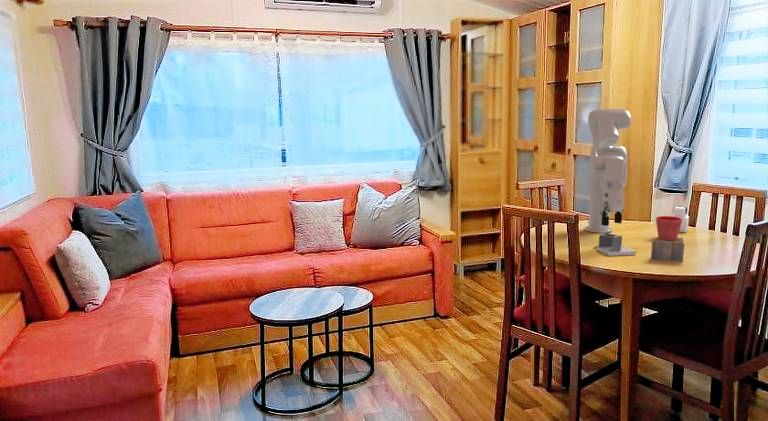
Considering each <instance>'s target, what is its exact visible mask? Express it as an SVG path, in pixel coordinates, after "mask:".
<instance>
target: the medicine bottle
mask: <svg viewBox="0 0 768 421" xmlns="http://www.w3.org/2000/svg"><path fill="white" fill-rule="evenodd" d="M671 216H672V217H678V218H681V219H682V223H681V226H680V230H679V233H686V232H687V231H688V230H689V222H690V221H689V219H690V216H689V215H688V207H686V206H680V205H676V206H673V213H672V215H671Z"/></svg>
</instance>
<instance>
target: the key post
mask: <svg viewBox="0 0 768 421" xmlns="http://www.w3.org/2000/svg"><path fill="white" fill-rule="evenodd" d="M596 251H597V252H600V253H602V254H604V255H605V256H606V257H607V256H608V257H616V256H617V257H619V256H621V257H622V256H636V255H637V251H636V250H634V249H631V248H630V247H627V246H624V245H621V241H620V239H618V238H614V239H613V242H612V246H611V247H601V246H597V249H596Z"/></svg>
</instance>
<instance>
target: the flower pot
mask: <svg viewBox="0 0 768 421" xmlns="http://www.w3.org/2000/svg"><path fill="white" fill-rule="evenodd" d="M672 216H673V215H671V216H668V215H661V216H660V215H659V216H657V217H655V220H656V221H655V222H656V229H657V236H658V239H660V240H663V241H676V240H677V238H679V237H678V236H679V233H680V232H679V230H680V226H681V223H682V219H681V218H678V217H672Z"/></svg>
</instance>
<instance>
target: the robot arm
mask: <svg viewBox="0 0 768 421" xmlns="http://www.w3.org/2000/svg"><path fill="white" fill-rule="evenodd" d="M630 113H631V112H629V111H628V110H627V109H623V108H621V109H620V108H615V109H613V108H611V109H607V108H603V109H602V108H601V109H599V108H598V109H595V110H592V111H590V112H589V113H588V116H587V119H588V120H587V121H588V122H587V123H588V128H589V131H590V133H591V138H592V147H591V149H590V152H589V153H590V155H589V156H590V168H591V170H590V172H589V173H588V174H589V175H588V179H589V180H588V181H589V208H588V209H589V210H588V211H589V212H588V213H589V214H588V221H587V224H588V226H586V227H584V228H585V231H587V232H590V233H597V234H598V233H599V234H606V233H611V232H612V231H613V228H611V227H610V215H611V214H610V213H614V220H613V221H614V224H622V221H623V213H624V210H625V206H626V205H625V204H626V203H625V193H624V188H623V187H625V186H626V185H627V181H628V151H627V149H626V147H624V146H622V145H616V144H617V143H619V139H620V135H619V130H627V129H629V128H630V127H631V126H632V125H631V124H632V116H631V114H630Z"/></svg>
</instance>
